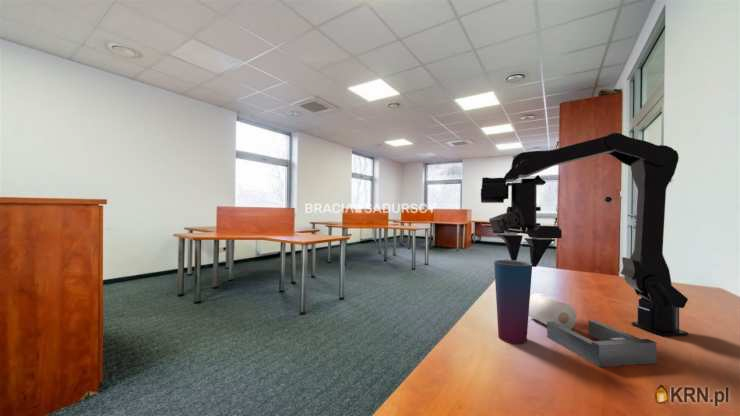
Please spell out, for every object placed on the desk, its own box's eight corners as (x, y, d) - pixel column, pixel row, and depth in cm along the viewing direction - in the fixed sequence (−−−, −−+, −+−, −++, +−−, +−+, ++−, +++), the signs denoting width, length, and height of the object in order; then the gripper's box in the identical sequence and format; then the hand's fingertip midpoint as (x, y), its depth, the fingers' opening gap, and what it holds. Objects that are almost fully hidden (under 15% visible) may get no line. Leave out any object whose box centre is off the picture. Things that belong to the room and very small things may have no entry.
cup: (537, 348, 53) (537, 266, 53) (497, 344, 54) (498, 264, 55) (525, 333, 60) (525, 260, 60) (490, 330, 61) (490, 259, 61)
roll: (524, 318, 68) (525, 293, 68) (547, 317, 69) (548, 292, 69) (550, 333, 60) (550, 304, 60) (576, 331, 61) (576, 303, 61)
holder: (594, 334, 59) (594, 317, 59) (656, 363, 48) (656, 341, 48) (547, 336, 58) (547, 318, 58) (599, 366, 47) (599, 344, 47)
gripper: (475, 203, 82) (475, 258, 82) (518, 200, 63) (518, 271, 63) (511, 204, 83) (511, 258, 83) (563, 201, 65) (563, 271, 65)
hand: (523, 263), depth 73 cm, fingers open, 7 cm apart
